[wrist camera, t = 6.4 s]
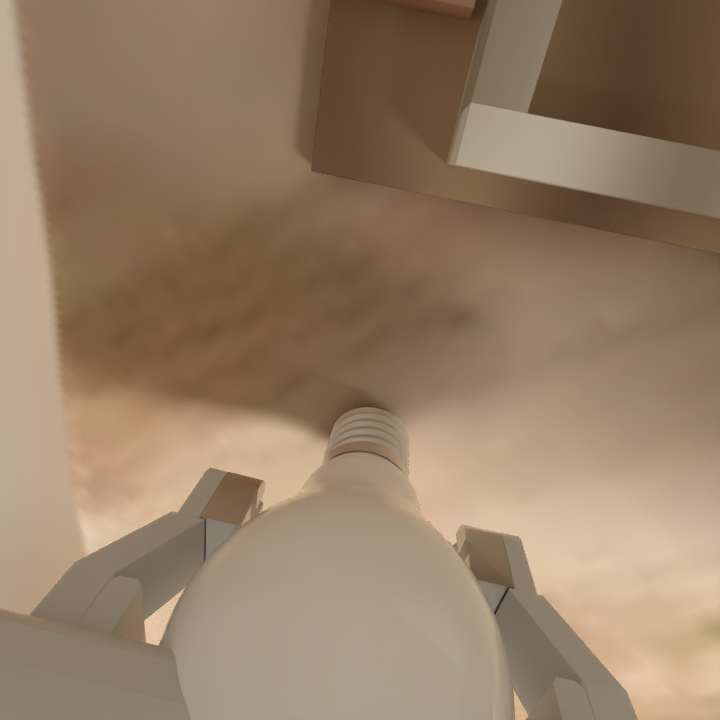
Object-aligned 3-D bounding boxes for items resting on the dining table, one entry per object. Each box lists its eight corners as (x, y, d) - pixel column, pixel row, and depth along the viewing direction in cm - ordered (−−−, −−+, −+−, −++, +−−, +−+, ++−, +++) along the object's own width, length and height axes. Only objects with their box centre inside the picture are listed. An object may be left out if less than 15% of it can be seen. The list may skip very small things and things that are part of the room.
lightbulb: (250, 397, 15) (-77, 869, 5) (405, 313, 13) (382, 828, 3) (345, 516, 17) (249, 1023, 7) (492, 460, 15) (656, 1063, 5)
